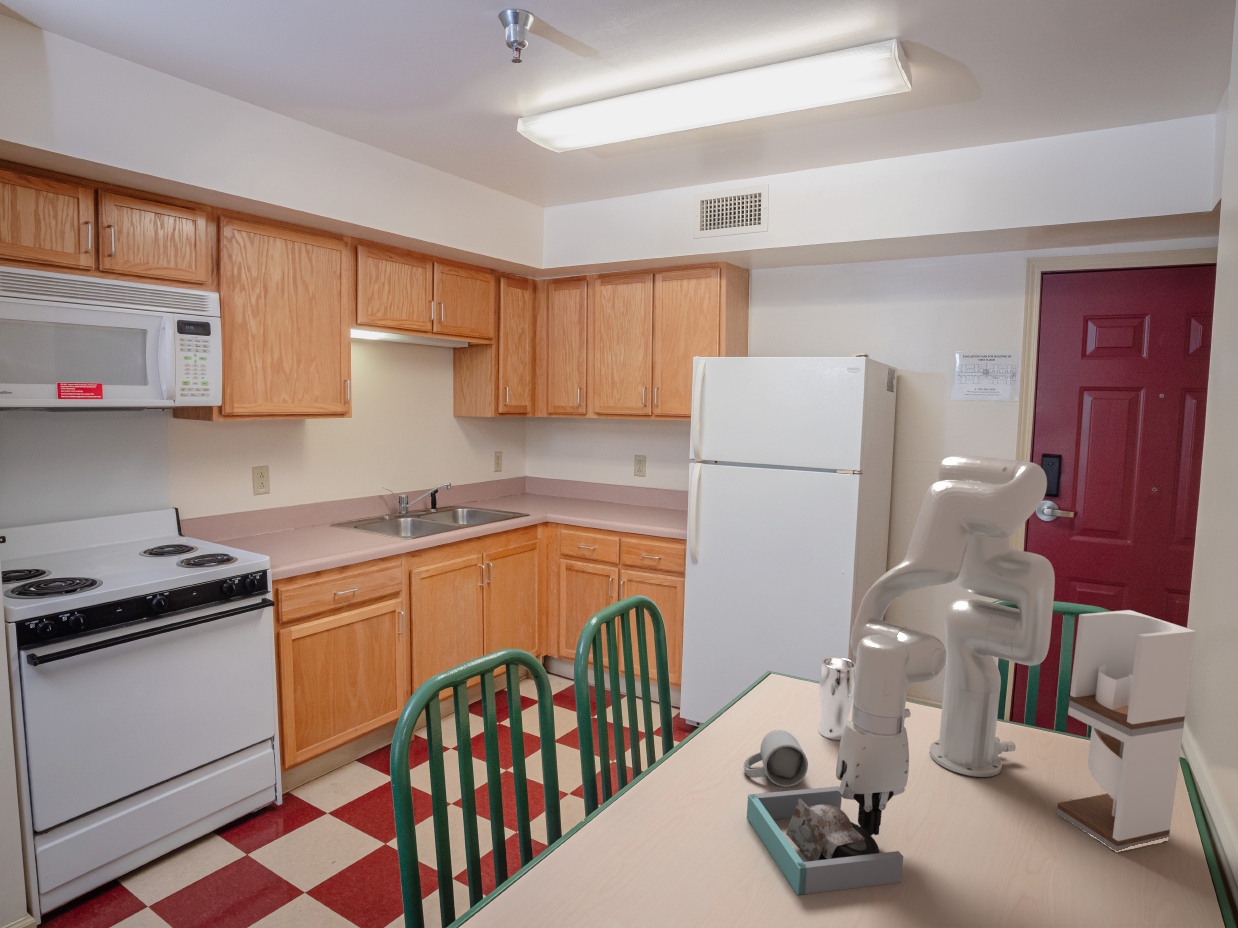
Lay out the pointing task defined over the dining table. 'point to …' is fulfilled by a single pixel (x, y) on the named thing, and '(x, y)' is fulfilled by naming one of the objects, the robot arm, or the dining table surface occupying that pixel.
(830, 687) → the beer glass
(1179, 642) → the white shelf stand
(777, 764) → the ceramic mug
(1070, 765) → the dining table surface
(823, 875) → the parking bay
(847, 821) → the caster wheel
